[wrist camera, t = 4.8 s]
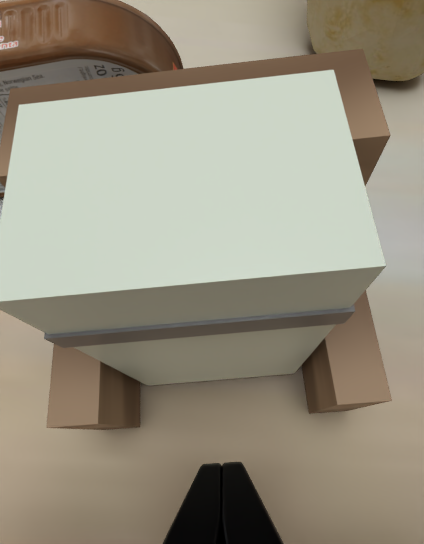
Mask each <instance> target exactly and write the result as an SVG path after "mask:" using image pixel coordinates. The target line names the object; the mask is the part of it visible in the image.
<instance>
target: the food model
mask: <svg viewBox="0 0 424 544" xmlns="http://www.w3.org/2000/svg"><path fill="white" fill-rule="evenodd" d="M307 25H308V29H309V34H310V38H311V42H312V46H313V50H314V51H315V52H316V53H317V54H320V53H329V52H337V51H346V50H355V49H363V50H364V53H365V56H366V60H367V63H368V66H369V69H370V72H371V75H372V79H382V80H390V81H406V80H410V79H413V78H415V77H417V76H419V75H421V74H423V73H424V0H307Z"/></svg>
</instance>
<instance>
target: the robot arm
mask: <svg viewBox="0 0 424 544" xmlns="http://www.w3.org/2000/svg"><path fill="white" fill-rule="evenodd" d="M163 544H284V543H283V541H282V539H281V537H280V535H279V534H278V532H277V530H276V528H275V526H274V524H273V522H272V520H271V518H270V516H269V514H268V512H267V510H266V508H265V506H264V504H263V502H262V500H261V498H260V496H259V495H258V493H257V491H256V489H255V487H254V485H253V483H252V481H251V479H250V477H249V475H248V473H247V471H246V469H245V467H244V465H243V464H242V463H241V462H228V463H224V464H223V465H221V464H219V463H212V464H203V465H202V466H201V467H200V469H199V471H198V473H197V475H196V477H195V479H194V481H193V483H192V485H191V487H190V489H189V491H188V493H187V495H186V497H185V499H184V501H183V503H182V505H181V507H180V509H179V511H178V513H177V515H176V517H175V519H174V521H173V523H172V525H171V527H170V530H169V532H168V534H167V536H166V538H165V540H164V542H163Z"/></svg>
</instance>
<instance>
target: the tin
mask: <svg viewBox="0 0 424 544" xmlns="http://www.w3.org/2000/svg"><path fill="white" fill-rule="evenodd" d="M179 69H183V65H182V62H181V58H180V56H179V53H178V51H177V49H176V48H175V46H174V44H173V42H172V41H171V39H170V38H169V37H168V35H167V34H166V33H165V32H164V31H163V30H162V29H161V27H160V26H159V25H158V24H157V23H156V22H154V21H153V20H152V19H151V18H150V17H149V16H147V15H146V14H144V13H143V12H141V11H139V10H137V9H136V8H134V7H132V6H130V5H128V4H126V3H124V2H121V1H119V0H8V1H1V2H0V143H1V138H2V132H3V126H4V121H5V115H6V109H7V104H8V98H9V93H10V89H12V88H21V87H29V86H38V85H47V84H56V83H65V82H73V81H82V80H91V79H100V78H109V77H117V76H126V75H135V74H144V73H153V72H161V71H170V70H179ZM4 194H5V187H4V186H3V185H2V184H1V183H0V197H4Z"/></svg>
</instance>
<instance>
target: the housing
mask: <svg viewBox="0 0 424 544" xmlns="http://www.w3.org/2000/svg"><path fill="white" fill-rule="evenodd" d="M326 70H334V73H335V76H336V80H337V84H338V88H339V91H340V95H341V99H342V102H343V106H344V110H345V114H346V117H347V121H348V125H349V129H350V132H351V136H352V140H353V144H354V147H355V151H356V155H357V159H358V162H359V166H360V170H361V174H362V177H363V181H364V185H365V186H366V184H367V182H368V180H369V178H370V176H371V174H372V172H373V170H374V168H375V166H376V164H377V162H378V160H379V157H380V155H381V153H382V151H383V149H384V147H385V145H386V143H387V141H388V139H389V137H390V132H389V129H388V126H387V123H386V120H385V116H384V113H383V110H382V107H381V104H380V101H379V97H378V94H377V91H376V88H375V85H374V82H373V79H372V75H371V72H370V69H369V66H368V63H367V60H366V56H365V53H364V50H363V49H355V50H346V51H337V52H329V53H320V54H311V55H302V56H293V57H285V58H276V59H267V60H258V61H249V62H241V63H232V64H223V65H214V66H205V67H197V68H188V69H179V70H170V71H161V72H153V73H144V74H135V75H126V76H117V77H109V78H100V79H91V80H82V81H73V82H65V83H56V84H47V85H38V86H29V87H21V88H12V89H10V93H9V98H8V104H7V109H6V115H5V121H4V126H3V132H2V138H1V143H0V183H1V184H2V185H3V186H4V187H5V188H6V182H7V175H8V169H9V163H10V157H11V151H12V144H13V138H14V132H15V126H16V120H17V113H18V107H19V105H22V104H31V103H40V102H49V101H58V100H67V99H75V98H84V97H93V96H102V95H111V94H120V93H129V92H138V91H147V90H156V89H165V88H174V87H183V86H192V85H201V84H209V83H218V82H227V81H236V80H245V79H254V78H263V77H272V76H281V75H290V74H299V73H308V72H317V71H326ZM354 307H355V312H354V313H353V315H352V316H351V317H350V318H349V319H348V320H347V321H346V322H345V323H344V324H336V325H335V326H334V328H333V329H332V330H331V331H330V332H329V333H328V335H327V336H326V337H325V338H324V339H323V340H322V342H321V343H320V344H319V345H318V346H317V347H316V349H315V350H314V351H313V352H312V353H311V355H310V356H309V357H308V358H307V359H306V360H305V362H304V363H303V364H302V371H303V378H304V384H305V390H306V397H307V403H308V409H309V414H311V413H324V412H337V411H348V410H352V409H357V408H361V407H366V406H370V405H375V404H379V403H383V402H388V401H392V399H391V395H390V391H389V386H388V382H387V378H386V374H385V370H384V365H383V361H382V357H381V353H380V349H379V344H378V340H377V336H376V332H375V328H374V323H373V319H372V315H371V311H370V307H369V302H368V298H367V294H366V290H365V291H364V292H363V294H362V295H361V296H360V297H359V298H358V299H357V301H356V302H355V303H354ZM132 427H140V381H138V380H136V379H134V378H132V377H130V376H128V375H126V374H124V373H122V372H120V371H118V370H116V369H115V368H113V367H111V366H109V365H107V364H105V363H103V362H101V361H99V360H97V359H95V358H93V357H91V356H89V355H87V354H85V353H83V352H82V351H80V350H78V349H76V348H74V347H69V348H62V347H60V346H58V345H56V344H54V348H53V360H52V371H51V383H50V394H49V405H48V417H47V428H67V429H97V430H106V429H119V428H132Z"/></svg>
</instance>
